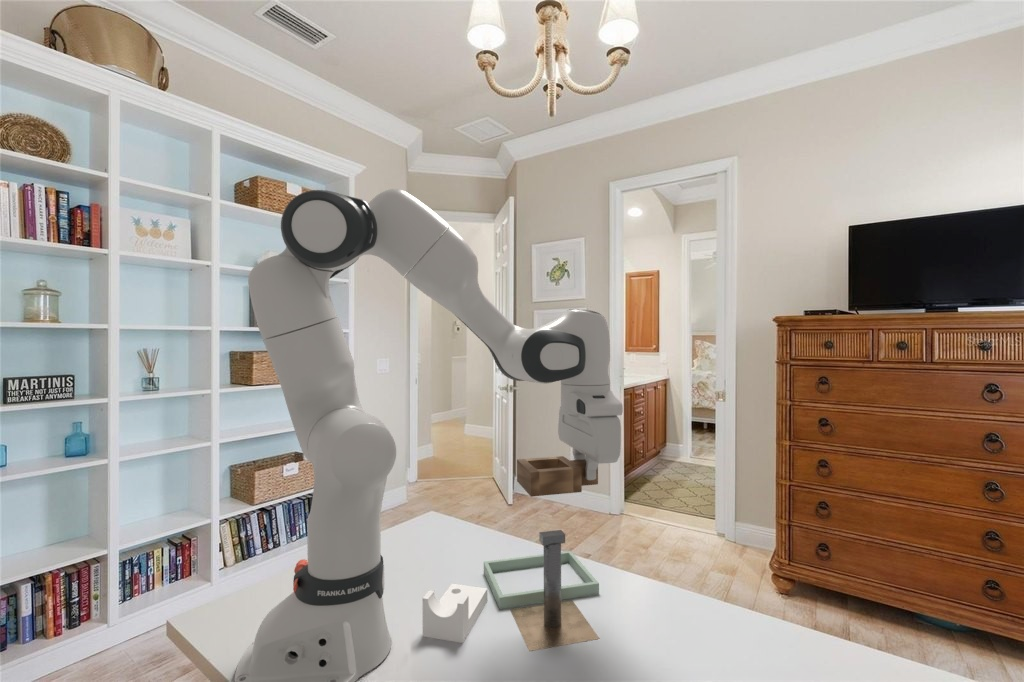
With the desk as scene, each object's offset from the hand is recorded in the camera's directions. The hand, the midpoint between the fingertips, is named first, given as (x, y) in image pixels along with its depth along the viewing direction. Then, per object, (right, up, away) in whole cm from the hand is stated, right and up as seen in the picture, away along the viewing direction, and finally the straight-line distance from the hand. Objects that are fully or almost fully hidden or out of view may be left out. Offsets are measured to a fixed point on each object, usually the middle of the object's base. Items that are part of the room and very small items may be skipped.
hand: (585, 476), depth 87 cm
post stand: (-6, -25, -4) cm, 26 cm away
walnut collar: (-5, -1, -1) cm, 5 cm away
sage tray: (-8, -25, +10) cm, 28 cm away
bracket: (-23, -26, -2) cm, 35 cm away
